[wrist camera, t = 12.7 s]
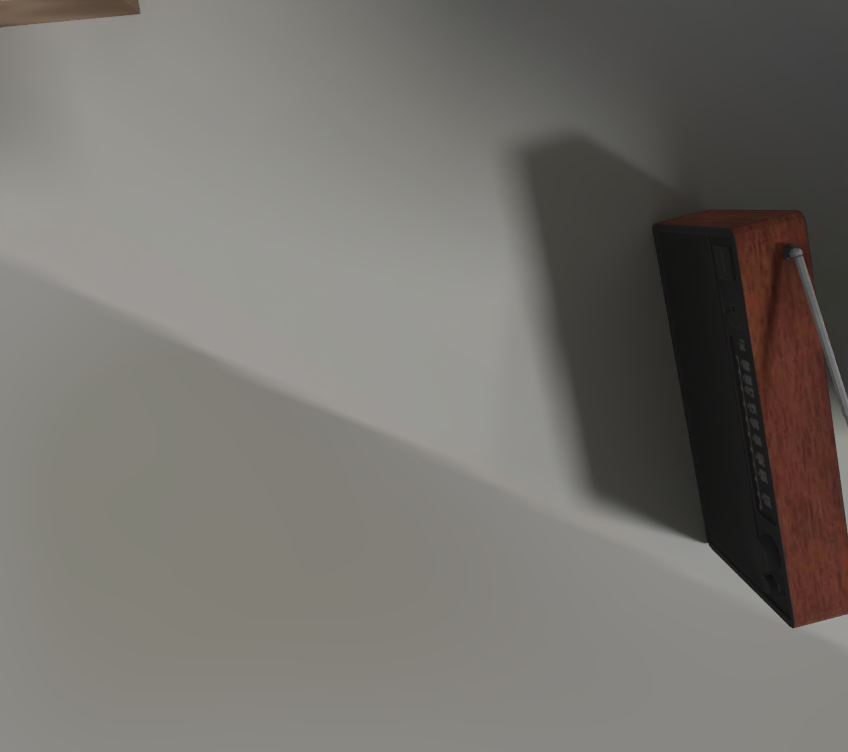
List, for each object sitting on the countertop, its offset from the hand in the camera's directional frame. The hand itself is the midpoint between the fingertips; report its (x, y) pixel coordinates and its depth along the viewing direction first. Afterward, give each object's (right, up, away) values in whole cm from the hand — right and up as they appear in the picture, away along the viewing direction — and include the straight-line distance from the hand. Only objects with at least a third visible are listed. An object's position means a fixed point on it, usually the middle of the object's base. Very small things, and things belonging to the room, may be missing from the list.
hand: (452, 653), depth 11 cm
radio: (+13, +2, +28) cm, 31 cm away
